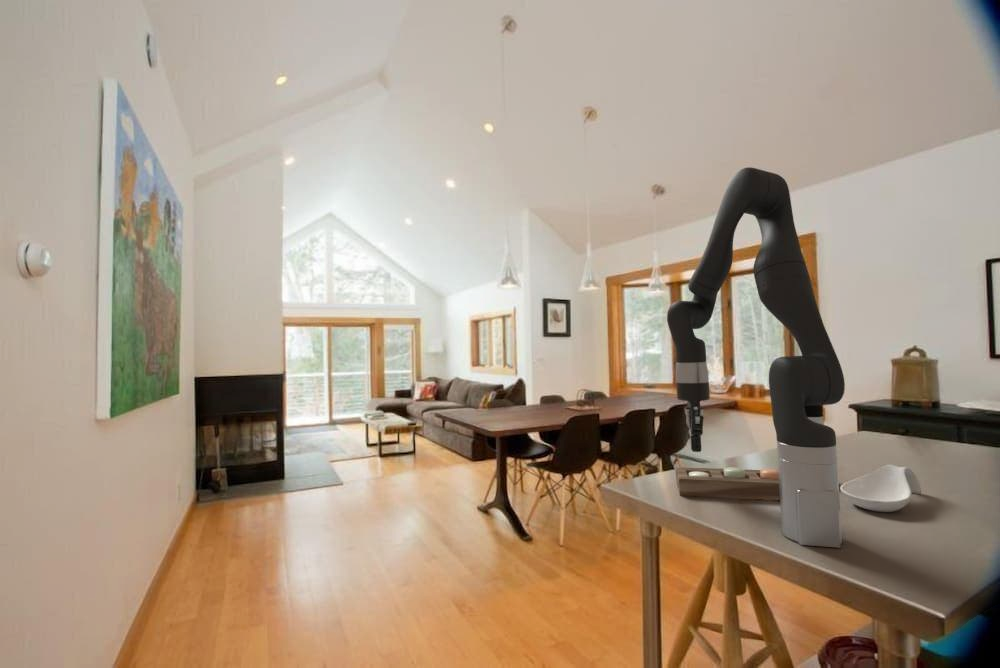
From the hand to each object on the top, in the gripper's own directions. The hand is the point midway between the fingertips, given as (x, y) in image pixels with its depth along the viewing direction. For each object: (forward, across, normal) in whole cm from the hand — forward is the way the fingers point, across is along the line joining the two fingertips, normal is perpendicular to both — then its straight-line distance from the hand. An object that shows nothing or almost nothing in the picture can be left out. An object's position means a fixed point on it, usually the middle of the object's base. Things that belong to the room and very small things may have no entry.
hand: (696, 451), depth 115 cm
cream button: (+9, +1, 0) cm, 9 cm away
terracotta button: (+7, 0, -16) cm, 18 cm away
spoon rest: (+10, -2, -38) cm, 40 cm away
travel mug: (+10, +12, -29) cm, 33 cm away
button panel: (+10, +1, -8) cm, 13 cm away
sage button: (+7, +1, -8) cm, 11 cm away
